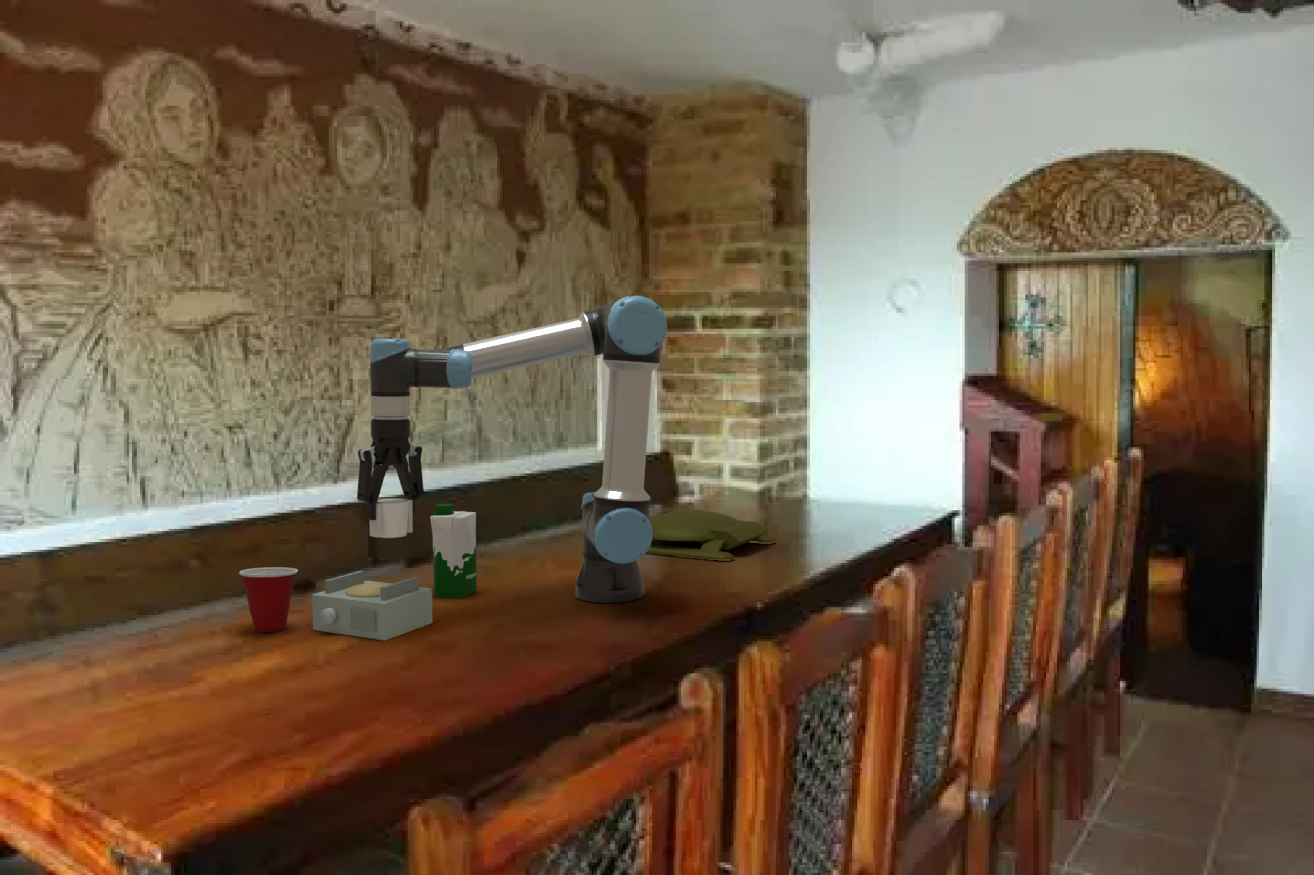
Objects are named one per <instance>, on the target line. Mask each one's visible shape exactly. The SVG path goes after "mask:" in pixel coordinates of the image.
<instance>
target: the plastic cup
mask: <svg viewBox="0 0 1314 875" xmlns="http://www.w3.org/2000/svg"><path fill="white" fill-rule="evenodd" d="M298 571H299V569H297V568H294V567H284V566H283V567H280V566H279V567H278V566H277V567H273V566H271V567H267V566H266V567H253V568H247V569H241V570H240V571H239V572H238V573H239V575H240V576H241V579H242V583H243V587H244V590H245V596H246V599H247V604H248V610H249V612H250V615H251V616H250V617H251V620H252V625H253V628H254V631H255V632H256V631H257V632H256V633H259V632H273V633H278V632H277V631H279V632H281V631H280V630H282V631H284V630H286V628H287V625H288V624H287V623H288V616H289V611H290V605H291V598H292V592H293V585H294V580H295V577H296V575H297V573H298ZM283 629H284V630H283Z"/></svg>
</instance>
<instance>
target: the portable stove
mask: <svg viewBox="0 0 1314 875" xmlns="http://www.w3.org/2000/svg"><path fill="white" fill-rule="evenodd" d="M432 590H433V589H432V587H431V588H430V587H423V586H420V577H419V576H413V577H409V578H406V579H403V580H400V581H397V582H396V581H395V582H393V583H391V582H383V581H382V582H381V581H373V580H365V571H364V570H358V571H355V572H351V573H347V574H344V575H340V576H336V577H333V578H330V579H325V580H324V590H323V591H319V592H316V593H313V594H312V593H311V606H312V609H311V610H312V629H313V631H319V632H325V633H331V634H339V635H345V636H346V635H347V636H351V637H352V636H353V637H358V638H366V639H372V640H379V641H388V640H390V639H393V637H394V638H397V637H399V636H400V635H401V636H402V635H404V634H407V633H409V632H412V631H415V630H418V629H420V628H423V627H426V626H428V625H430V624H433V591H432ZM417 628H418V629H417Z"/></svg>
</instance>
